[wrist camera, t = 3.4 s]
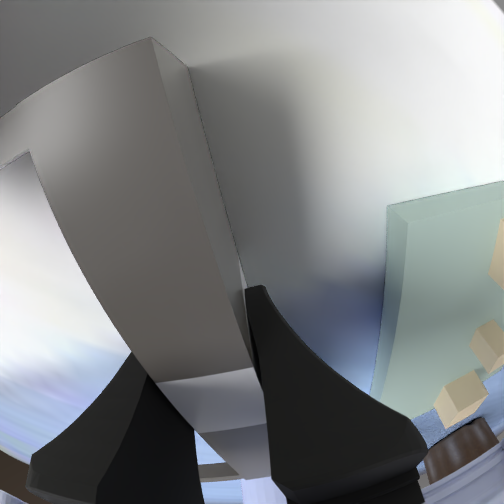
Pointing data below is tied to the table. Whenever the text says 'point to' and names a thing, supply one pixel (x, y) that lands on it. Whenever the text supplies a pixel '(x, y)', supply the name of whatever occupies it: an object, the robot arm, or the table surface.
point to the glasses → (152, 236)
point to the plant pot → (459, 449)
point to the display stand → (442, 303)
